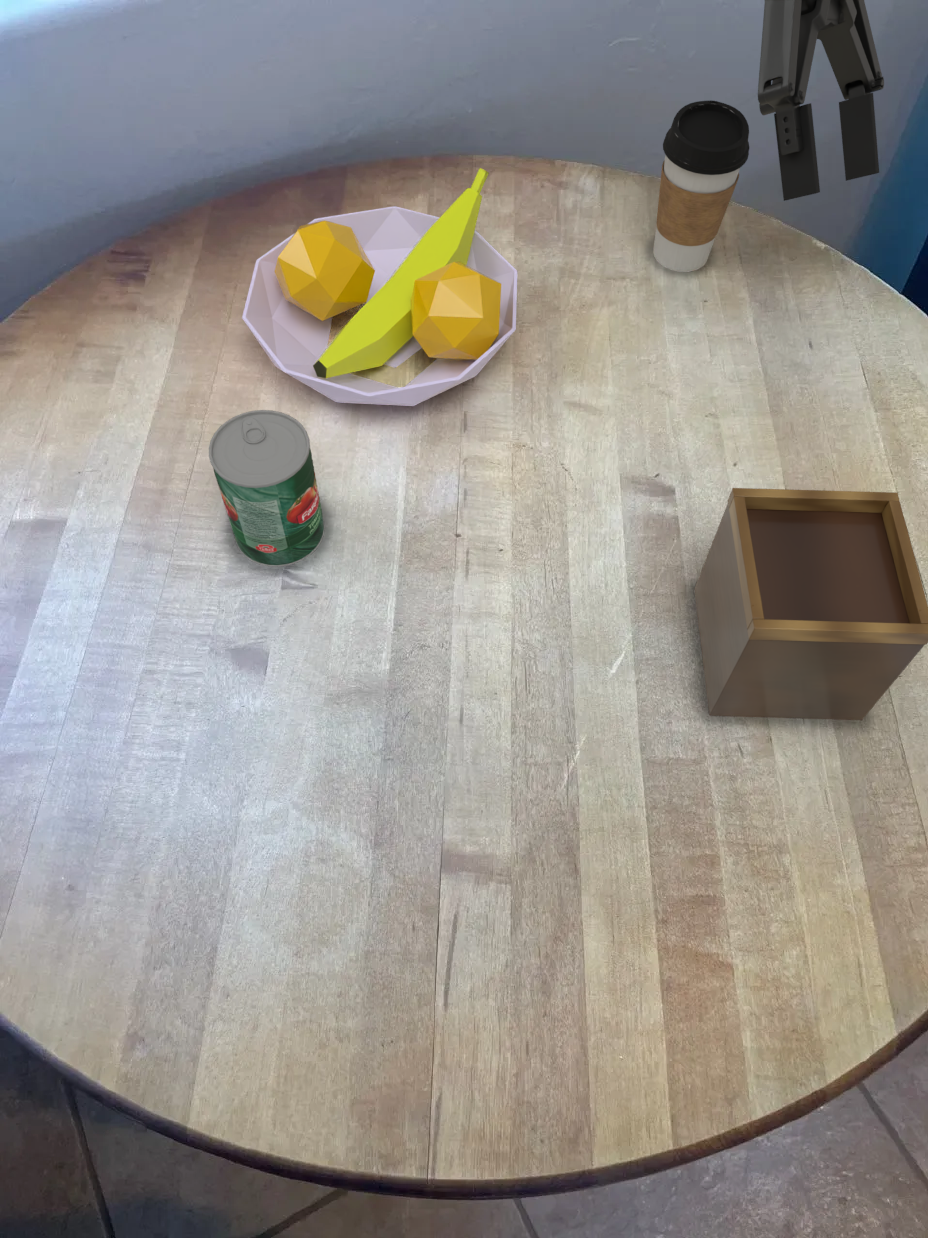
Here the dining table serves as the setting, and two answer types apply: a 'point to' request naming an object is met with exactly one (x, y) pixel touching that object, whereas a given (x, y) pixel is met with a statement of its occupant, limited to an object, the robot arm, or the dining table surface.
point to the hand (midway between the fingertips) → (833, 186)
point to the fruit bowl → (384, 300)
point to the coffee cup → (697, 181)
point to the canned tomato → (268, 486)
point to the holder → (808, 604)
